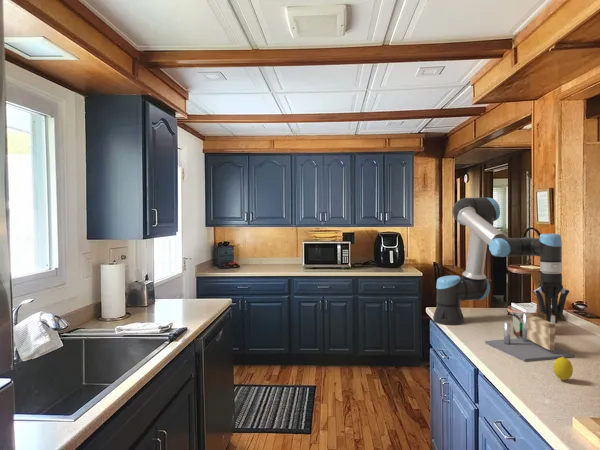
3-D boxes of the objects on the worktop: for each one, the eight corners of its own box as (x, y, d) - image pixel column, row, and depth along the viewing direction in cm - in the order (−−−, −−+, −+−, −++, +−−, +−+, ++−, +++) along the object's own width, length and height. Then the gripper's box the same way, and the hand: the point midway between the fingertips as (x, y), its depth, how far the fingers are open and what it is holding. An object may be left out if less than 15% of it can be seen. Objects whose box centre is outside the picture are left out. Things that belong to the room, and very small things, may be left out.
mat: (485, 343, 186) (485, 340, 186) (529, 339, 190) (529, 337, 190) (524, 361, 162) (524, 358, 162) (574, 357, 166) (574, 354, 166)
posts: (502, 345, 182) (502, 315, 182) (526, 341, 187) (526, 311, 187) (508, 347, 179) (508, 316, 179) (532, 343, 184) (532, 313, 184)
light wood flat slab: (526, 338, 183) (526, 314, 183) (531, 338, 183) (531, 314, 183) (549, 350, 167) (549, 324, 167) (555, 350, 167) (555, 324, 167)
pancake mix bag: (539, 335, 196) (539, 274, 195) (530, 325, 214) (530, 269, 213) (556, 337, 194) (556, 274, 193) (545, 326, 212) (545, 269, 211)
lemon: (549, 377, 146) (549, 354, 146) (565, 377, 146) (565, 353, 146) (560, 384, 140) (560, 359, 140) (576, 383, 141) (576, 359, 141)
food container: (535, 341, 187) (535, 318, 187) (520, 340, 188) (520, 318, 188) (526, 333, 199) (526, 312, 199) (512, 333, 201) (512, 311, 200)
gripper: (538, 273, 169) (539, 333, 170) (573, 273, 168) (573, 333, 168) (529, 271, 177) (530, 328, 177) (563, 271, 175) (564, 328, 176)
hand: (551, 331), depth 173 cm, fingers closed
